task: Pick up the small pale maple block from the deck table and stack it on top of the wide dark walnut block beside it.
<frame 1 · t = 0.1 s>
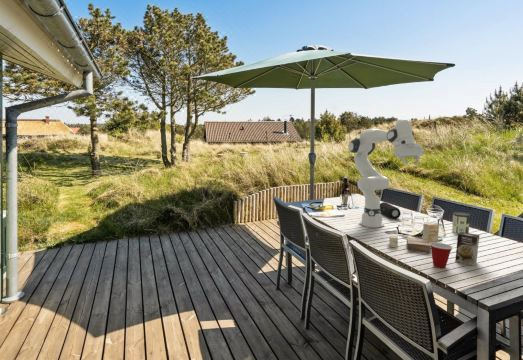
hand: (410, 163, 194), 52 cm above the table, tool tilted 20°, fingers open, 8 cm apart
walnut block: (417, 249, 187), on the table
supplement box: (429, 243, 196), on the table
plastic cup: (439, 266, 162), on the table
portable speaker: (388, 215, 266), on the table
maple block: (393, 245, 192), on the table
coffee can: (460, 233, 216), on the table
coffee box: (465, 262, 166), on the table
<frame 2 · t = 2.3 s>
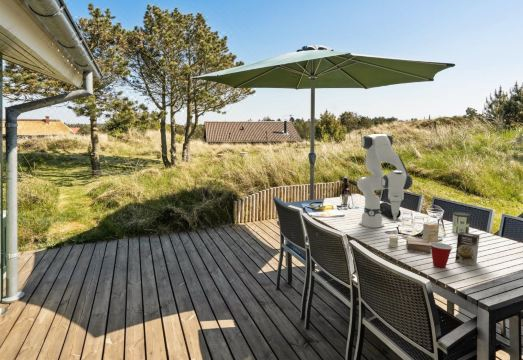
hand: (394, 217, 190), 18 cm above the table, tool pointing down, fingers open, 8 cm apart
nothing on the table moved.
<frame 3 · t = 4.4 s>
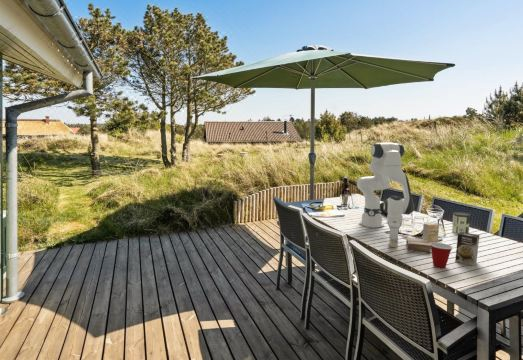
hand: (393, 242, 192), 2 cm above the table, tool pointing down, fingers closed on maple block, 5 cm apart
maple block: (393, 245, 192), on the table, touching gripper
everything else where it was.
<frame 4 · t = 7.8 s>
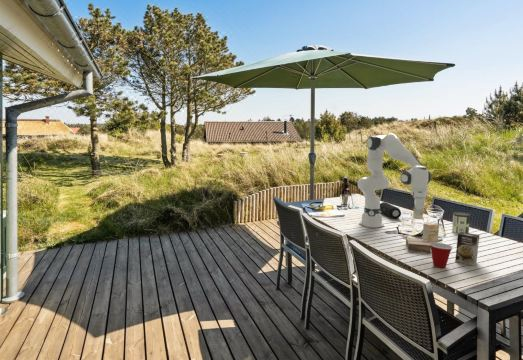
hand: (417, 214, 184), 22 cm above the table, tool pointing down, fingers closed on maple block, 5 cm apart
maple block: (417, 218, 184), point 20 cm above the table, touching gripper
everything else where it was.
when the fingers open (9 cm above the table, at t = 11.1 s): maple block drops 2 cm, resting on walnut block.
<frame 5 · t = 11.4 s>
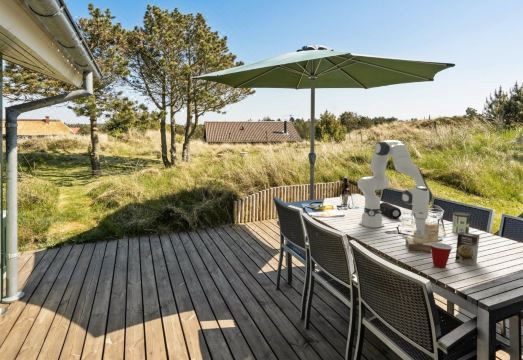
hand: (418, 234, 186), 9 cm above the table, tool pointing down, fingers open, 8 cm apart
walnut block: (417, 249, 187), on the table, touching maple block
maple block: (418, 241, 186), point 5 cm above the table, touching walnut block
everything else where it was.
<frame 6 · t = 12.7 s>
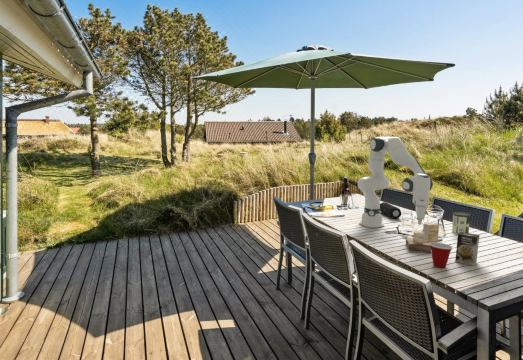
hand: (419, 222, 185), 17 cm above the table, tool pointing down, fingers open, 8 cm apart
nothing on the table moved.
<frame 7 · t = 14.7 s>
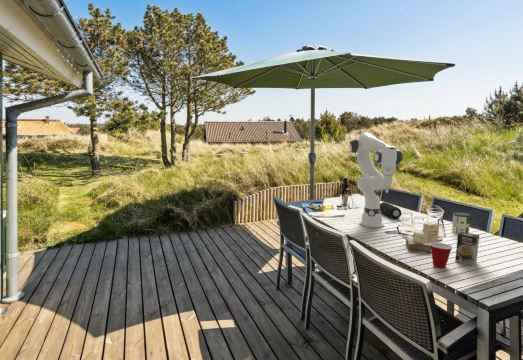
hand: (386, 191, 200), 33 cm above the table, tool pointing down, fingers open, 8 cm apart
walnut block: (417, 249, 187), on the table
maple block: (418, 241, 186), point 5 cm above the table
everything else where it was.
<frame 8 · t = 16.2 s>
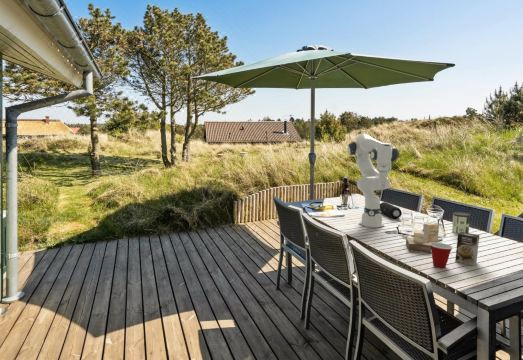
hand: (383, 187, 202), 35 cm above the table, tool pointing down, fingers open, 8 cm apart
nothing on the table moved.
at the end: maple block inside the target area on the walnut block (0.1 cm from its centre), point 5.1 cm above the walnut block's base; maple block tilted 1°; maple block touching walnut block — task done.
